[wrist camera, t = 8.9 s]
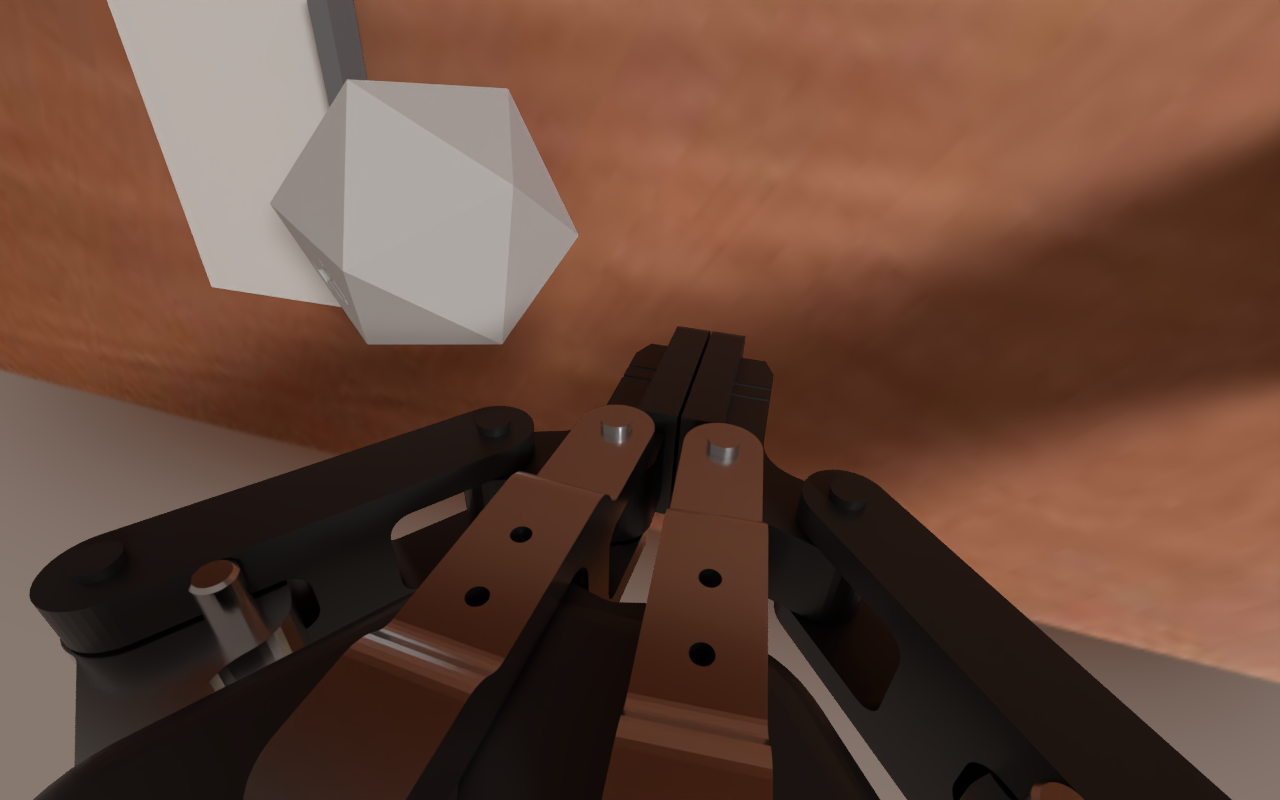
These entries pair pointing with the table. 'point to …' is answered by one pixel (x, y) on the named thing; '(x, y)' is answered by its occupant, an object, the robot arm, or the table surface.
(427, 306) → the die
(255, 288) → the white l-shaped plate
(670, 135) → the table surface
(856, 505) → the robot arm
